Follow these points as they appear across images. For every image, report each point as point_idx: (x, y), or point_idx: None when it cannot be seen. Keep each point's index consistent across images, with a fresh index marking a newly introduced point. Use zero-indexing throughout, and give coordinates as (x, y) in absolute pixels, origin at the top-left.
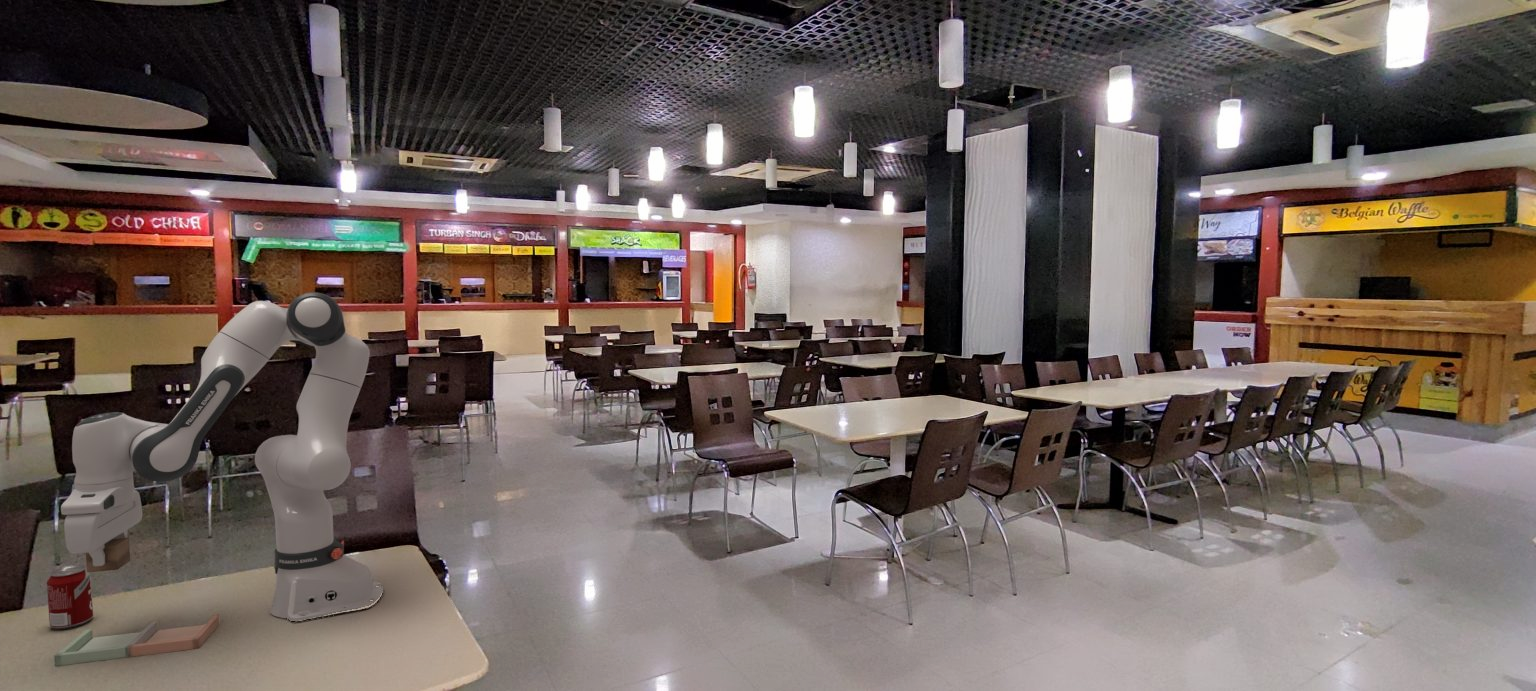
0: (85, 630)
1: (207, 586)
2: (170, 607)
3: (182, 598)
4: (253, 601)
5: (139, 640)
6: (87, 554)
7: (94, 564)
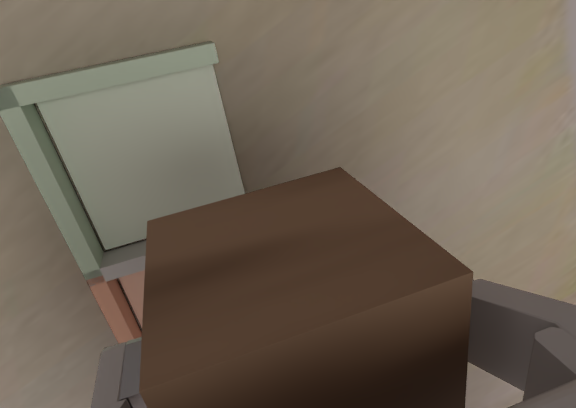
0: (207, 46)
1: (525, 154)
2: (407, 147)
3: (462, 139)
4: None
5: (143, 268)
6: (149, 333)
7: (106, 360)
